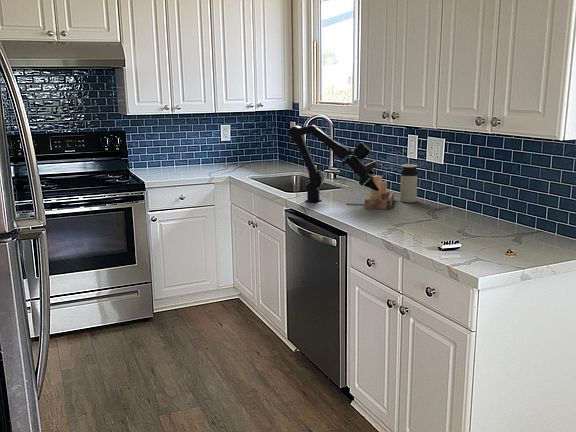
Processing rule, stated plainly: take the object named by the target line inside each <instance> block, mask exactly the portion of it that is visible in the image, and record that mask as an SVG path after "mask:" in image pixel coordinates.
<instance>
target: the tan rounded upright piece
mask: <svg viewBox="0 0 576 432" xmlns="http://www.w3.org/2000/svg"><path fill="white" fill-rule="evenodd" d="M371 177H372V176H371ZM373 182H374V183H375V184H376V186H377V187H378V189H379V190H378V191H376V190H373V189H371V188H370V190H369V199H373V200H382V194H387V192H388V181H386V180H385V181H383V176H382V175H377V174H375V175H374V176H373Z"/></svg>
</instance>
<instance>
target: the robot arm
mask: <svg viewBox="0 0 576 432" xmlns="http://www.w3.org/2000/svg"><path fill="white" fill-rule="evenodd" d="M288 134H289V137H290V138H291V140H292V141H293V142H294V143H295V144H296V146H297V148H298V151H299V154H300V155H301V157H302V160H303V162H304V164H305V167H306V169H307V172H308V179H309V183H308V184H307V185H306V186H305V188H306V194H307V197H306V198H307V199H305V200H304V202H306V203H307V202H308V203H313V204H315V203H319V202H322V201H323V199H321V198H320V197H321V195H320V192H321V191H320V188H321V186H322V185H323V184H324V181H325V175H324V174H323V170H322V169H318V168H317V166H316V164H315V162H314V160H313V157H312V154H311V153H310V150H309V148H308V146H307V143H306V137H305V135H310V134H311V135H312V136H314V137H315V138H316V139H318V140H319V141H320V142H322V143H323V144H324V145H325V146H327V147H328V148H329V149H330V150H331V151H332V153H334V155H335V156H336V157H337V158H338V159H340V160H341V167H345V165H346V166H347V167H348V168H349V169H350V170H351V171H352V172H353V174H354V175H356V176H357V178H358V179H359V180H358V183H359V185H360V186H361V187H362V186H363V187H366V188H371V189H373V190H376V191H378V190H379V189H378V187H377V186H376V184H375V183H374V182H373V176H374V175H376V173H375V172H376V171H375V170H374V169H377V168H379V163H378V162H377V160H374V159H370V160H369V163H367V164H366V163H362V162H361V161H360V160H362V161H364V160H365V159H366V158H367V157H368V156H369V155H370V154H371V153H372V149H370V147H369V146H367V145H366V144H365V143H364V142H362V141H361V142H360V143H359V144H358V145H357V146H356V148H349V147H348V146H346V145H345V144H342V143H340V142H339V141H336V140H334V139H333V138H332V137H330V136H329V135H328V134H326V133H325V132H324V131H322V130H321V129H320V128H319V127H318V126H317V125H315V124H312V125H306V126H301V125H294V126H292V127H290V128H289V130H288ZM345 158H346V159H345ZM343 159H345V160H343ZM371 176H372V177H371Z"/></svg>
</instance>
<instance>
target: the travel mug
mask: <svg viewBox="0 0 576 432" xmlns="http://www.w3.org/2000/svg"><path fill="white" fill-rule="evenodd" d="M401 167H402V168H401V170H400V191H399V193H400V194H399V196H400V198H399V200H400V202H402V203H406V204H407V203H409V204H410V203H416V202H417V198H418V196H417V195H418V175H419V174H418V170H417V167H418V165H417V164H413V163H411V164H409V163H408V164H405V163H404V164H401Z"/></svg>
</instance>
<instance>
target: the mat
mask: <svg viewBox="0 0 576 432" xmlns="http://www.w3.org/2000/svg"><path fill="white" fill-rule="evenodd" d="M346 206H365V199H349V200H348V201H347V203H346Z"/></svg>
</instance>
